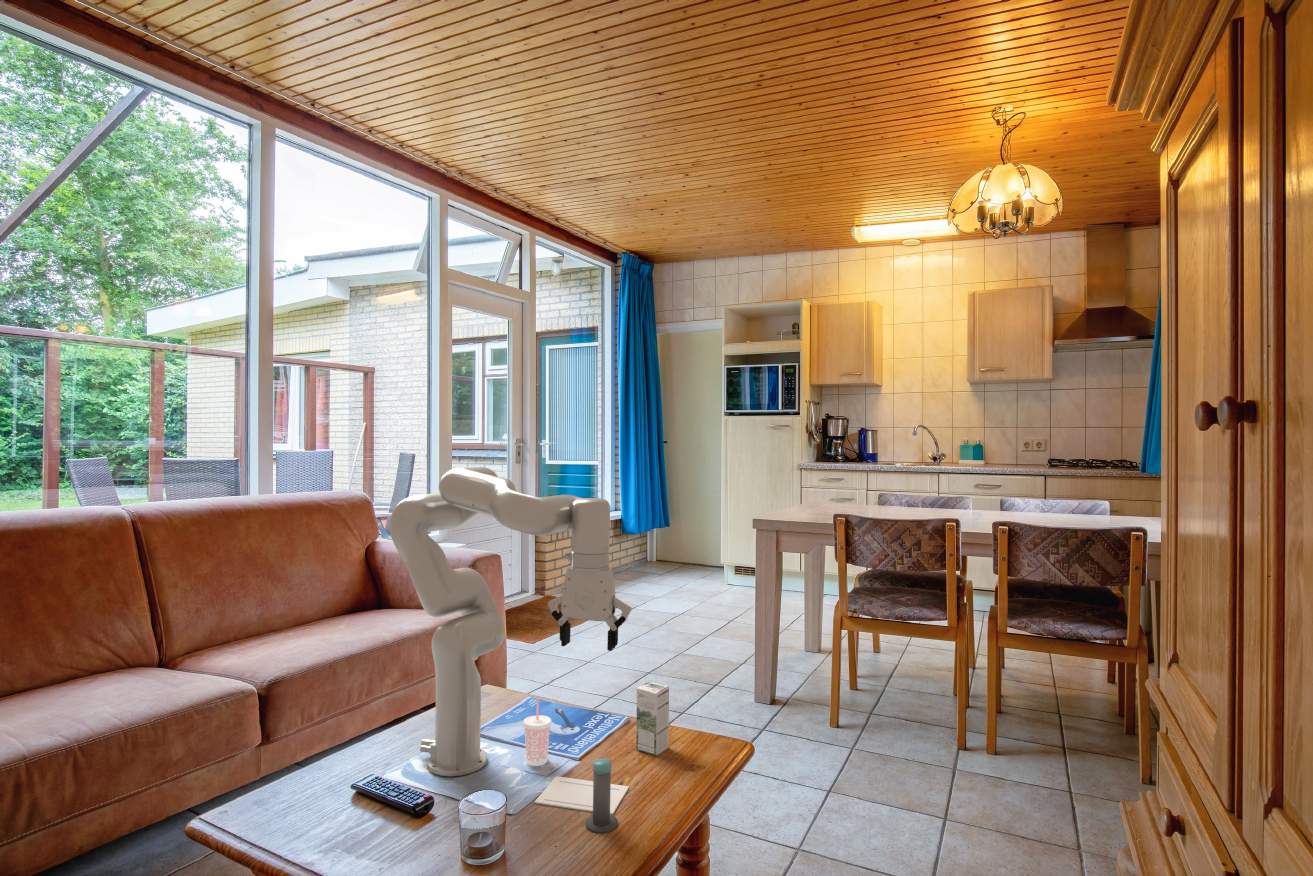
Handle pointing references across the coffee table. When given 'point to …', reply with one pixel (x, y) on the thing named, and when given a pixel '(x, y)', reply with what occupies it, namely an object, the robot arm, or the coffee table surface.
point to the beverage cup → (537, 738)
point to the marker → (601, 792)
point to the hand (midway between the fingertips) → (588, 646)
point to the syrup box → (652, 718)
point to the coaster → (604, 829)
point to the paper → (577, 794)
